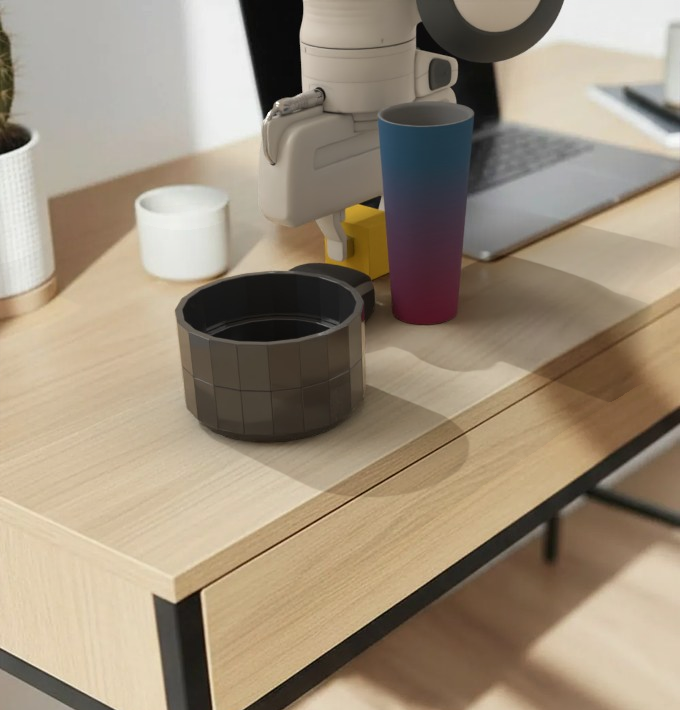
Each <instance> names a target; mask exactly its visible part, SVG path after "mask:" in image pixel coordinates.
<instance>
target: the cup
mask: <svg viewBox="0 0 680 710" xmlns="http://www.w3.org/2000/svg"><path fill="white" fill-rule="evenodd" d="M474 120H475V111H474V110H473V108H470V107H469V106H467V105H463V104H459V103H457V102H456V103H449V102H437V101H421V102H409V103H402V104H397V105H393V106H389V107H386V108H384V109H382V110H381V111H380V112H379V113H378V128H379V142H380V155H381V168H382V181H383V195H384V208H385V221H386V234H387V248H388V261H389V273H388V274H389V287H390V301H391V312H392V315H393V316H394V317H395V318H396V319H397V320H399V321H401V322H403V323H407V324H413V325H435V324H441V323H445V322H448V321H450V320H452V319H453V318H454V317H456V316H457V314H458V309H459V308H458V307H459V296H460V286H461V285H460V284H461V272H462V263H463V249H464V248H463V247H464V237H465V227H466V215H467V203H468V190H469V178H470V167H471V155H472V144H473V132H474V122H475V121H474Z"/></svg>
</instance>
